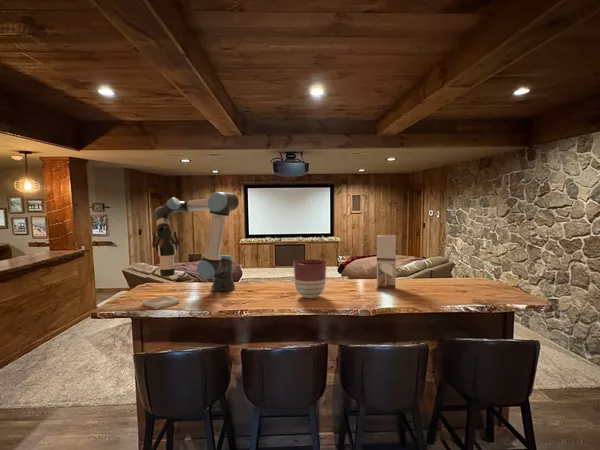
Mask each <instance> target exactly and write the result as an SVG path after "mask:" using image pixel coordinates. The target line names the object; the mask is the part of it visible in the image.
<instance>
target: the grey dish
mask: <svg viewBox="0 0 600 450" xmlns="http://www.w3.org/2000/svg"><path fill="white" fill-rule="evenodd" d="M141 303H142V306H143V305H144V307H146V308H147V307H148V308H151V309H154V310H160V309H163V308H166V307H171V306H174V305H179V304H180V298H177V297H173V296H169V295H165V294H164V295H161V296H157V297H152V298H149V299H146V300H142V302H141Z"/></svg>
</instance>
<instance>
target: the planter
mask: <svg viewBox="0 0 600 450" xmlns="http://www.w3.org/2000/svg"><path fill="white" fill-rule="evenodd" d="M326 272H327V261H325V260H324V259H323V260H321V259H300V260H299V259H298V260H294V261H293V274H294V275H293V276H294V277H293V278H294V286H295V289H296V291H297V293H298V294H299V295H300V296H301V297H303V298H304V299H310V300H311V299H315V298H317V297H319V296H321V294H322V293H323V292H324V291H325V286H326V275H327V273H326Z"/></svg>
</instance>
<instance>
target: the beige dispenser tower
mask: <svg viewBox="0 0 600 450" xmlns="http://www.w3.org/2000/svg"><path fill="white" fill-rule="evenodd" d="M396 239H397V236H396V235H394V234H393V235H392V234H377V235H376V292H377V291H378V292H389V293H390V292H391V293H392V292H393V293H395V292H396V280H397V278H396V275H397V274H396V273H397V271H396V269H397V268H396V265H397V264H396V263H397V262H396V261H397V257H396V256H397V255H396V250H397V248H396V247H397V241H396Z"/></svg>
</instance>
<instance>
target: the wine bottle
mask: <svg viewBox="0 0 600 450" xmlns="http://www.w3.org/2000/svg"><path fill="white" fill-rule="evenodd" d="M162 241H163V242H162V244H161V245H160V246H159V247H160V256H159V272H160V274H159V275H160V277H173V276H175V274H176V273H175V272H176V271H175V255H174V247H173V244H172V243H171V242H170V240H169V228H168V226H164V228H163V239H162Z"/></svg>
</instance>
